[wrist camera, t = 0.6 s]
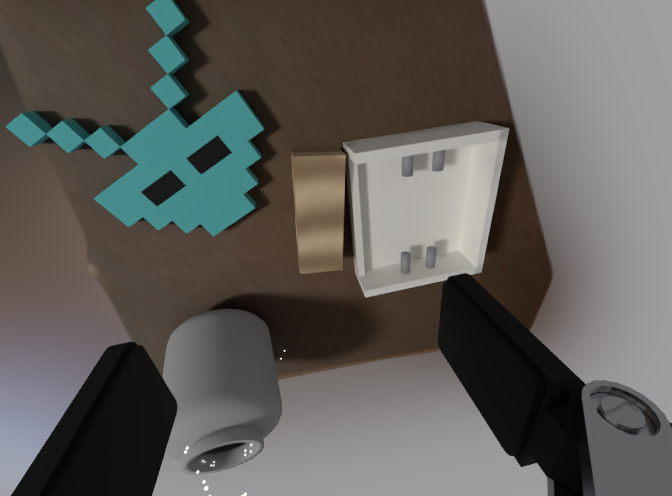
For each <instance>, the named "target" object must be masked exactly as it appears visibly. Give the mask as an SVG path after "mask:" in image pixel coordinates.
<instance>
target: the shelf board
mask: <svg viewBox="0 0 672 496" xmlns="http://www.w3.org/2000/svg"><path fill="white" fill-rule="evenodd" d="M291 157H292V173H293V188H294V204H295V220H296V235H297V251H298V263H299V270H300V274H304V273H314V272H324V271H334V270H342V266H343V231H344V196H345V161H346V155H345V154H344V152H343V151H342V150H341V149H340V148H322V149H291Z"/></svg>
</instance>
